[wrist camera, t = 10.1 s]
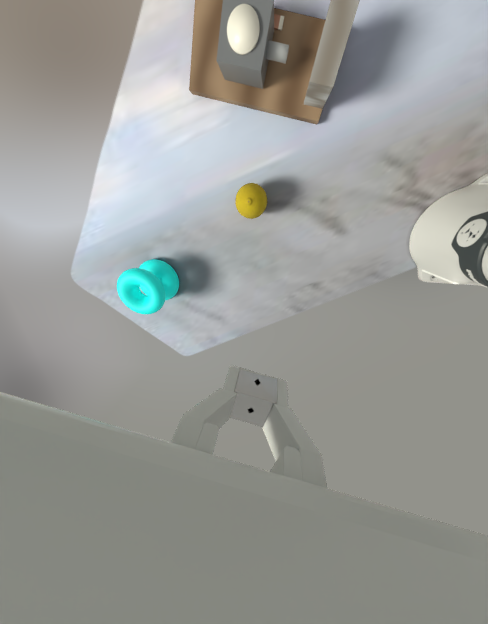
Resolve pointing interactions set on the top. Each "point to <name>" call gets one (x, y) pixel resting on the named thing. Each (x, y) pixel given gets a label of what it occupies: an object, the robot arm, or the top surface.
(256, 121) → the top surface
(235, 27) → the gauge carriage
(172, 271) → the donuts
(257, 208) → the lemon
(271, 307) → the top surface
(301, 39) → the bench
